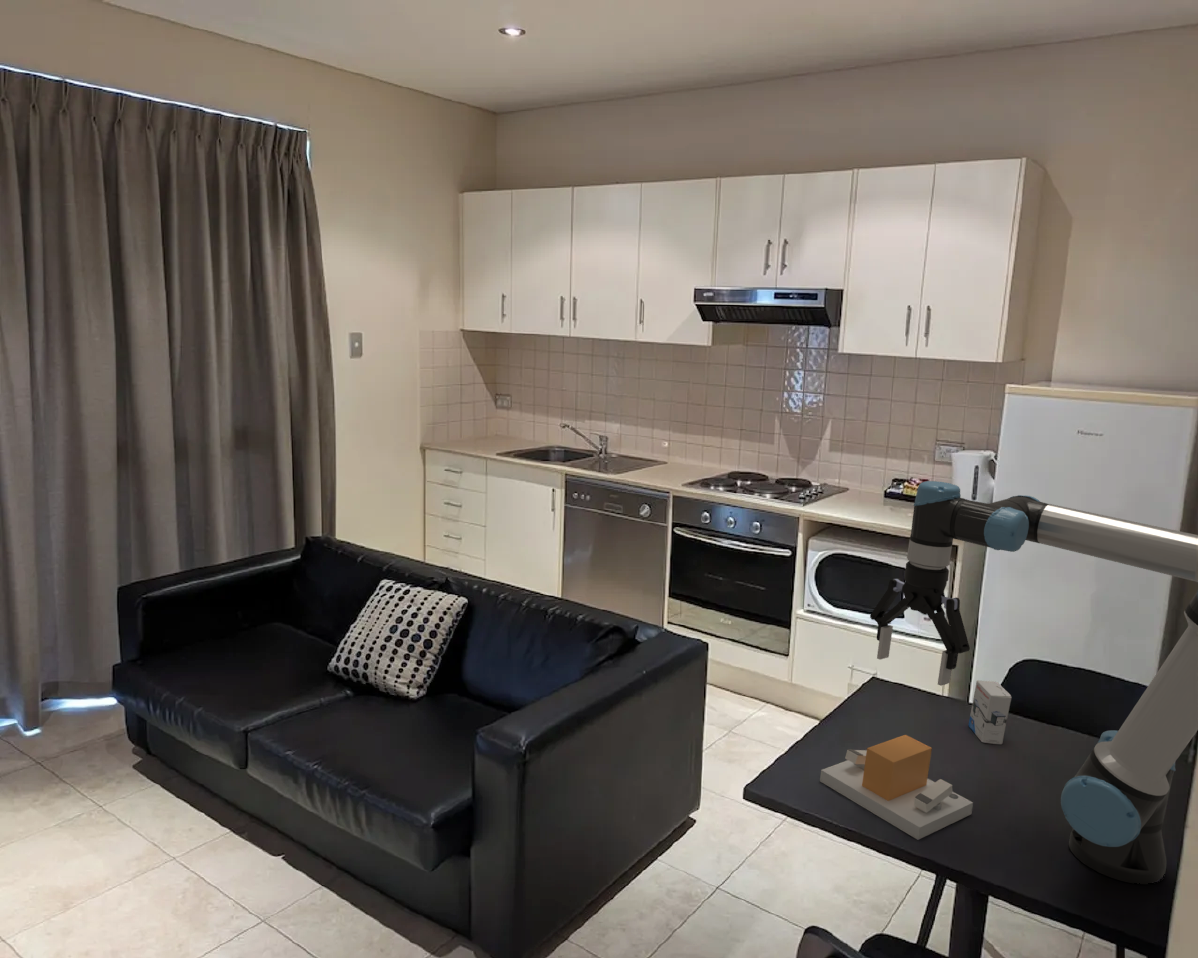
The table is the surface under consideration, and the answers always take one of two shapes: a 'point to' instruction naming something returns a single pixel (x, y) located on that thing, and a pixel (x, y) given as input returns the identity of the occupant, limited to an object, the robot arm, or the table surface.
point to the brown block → (896, 767)
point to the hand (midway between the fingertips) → (912, 670)
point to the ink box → (989, 711)
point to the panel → (896, 802)
